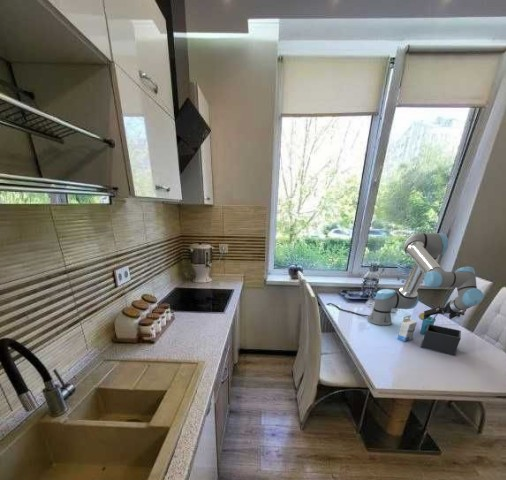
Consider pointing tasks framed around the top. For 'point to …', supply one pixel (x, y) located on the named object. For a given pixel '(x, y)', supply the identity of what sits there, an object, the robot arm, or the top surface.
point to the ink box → (407, 329)
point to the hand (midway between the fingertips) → (437, 316)
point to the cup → (426, 322)
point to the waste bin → (441, 339)
